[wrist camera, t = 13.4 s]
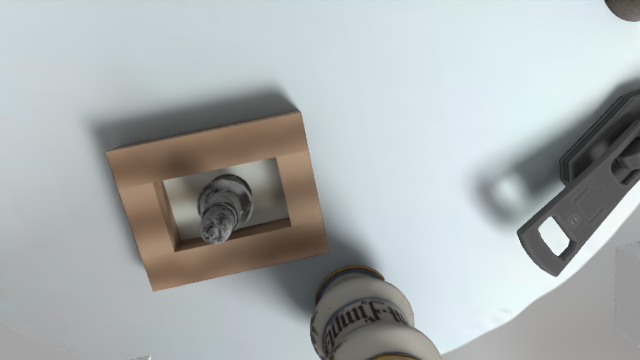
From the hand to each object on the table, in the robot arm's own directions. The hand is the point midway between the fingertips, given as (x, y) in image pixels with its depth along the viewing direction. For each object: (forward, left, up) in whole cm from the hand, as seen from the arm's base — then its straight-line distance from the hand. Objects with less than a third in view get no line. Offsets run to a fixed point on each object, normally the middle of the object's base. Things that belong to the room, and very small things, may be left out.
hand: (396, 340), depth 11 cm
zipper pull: (+11, +33, -35) cm, 49 cm away
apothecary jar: (+21, +2, -35) cm, 41 cm away
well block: (+4, -10, -35) cm, 36 cm away
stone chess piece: (+4, -10, -35) cm, 36 cm away
